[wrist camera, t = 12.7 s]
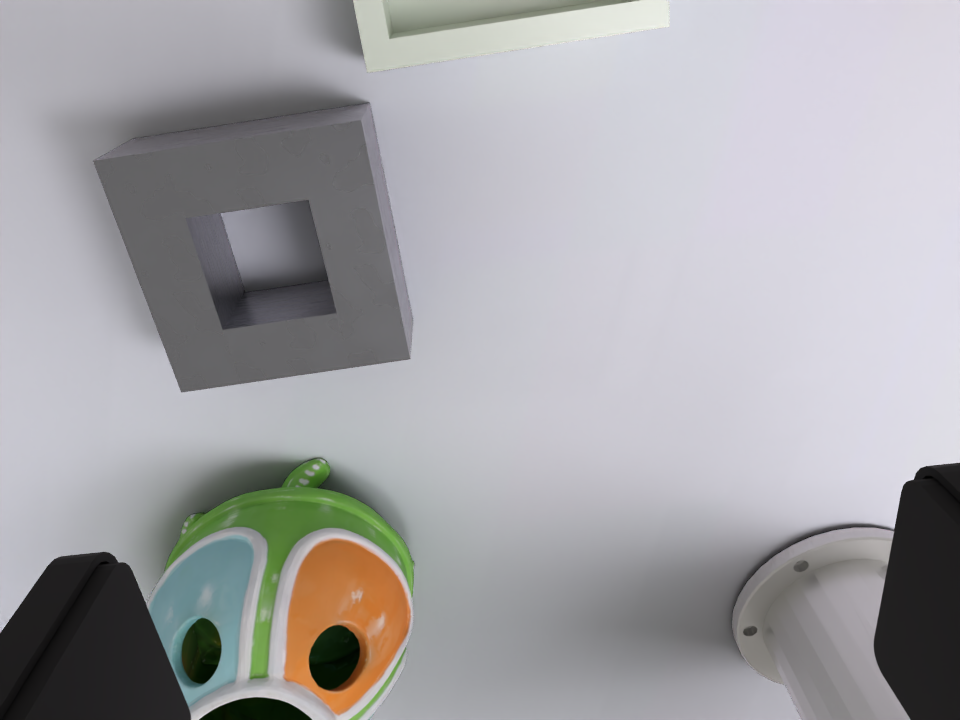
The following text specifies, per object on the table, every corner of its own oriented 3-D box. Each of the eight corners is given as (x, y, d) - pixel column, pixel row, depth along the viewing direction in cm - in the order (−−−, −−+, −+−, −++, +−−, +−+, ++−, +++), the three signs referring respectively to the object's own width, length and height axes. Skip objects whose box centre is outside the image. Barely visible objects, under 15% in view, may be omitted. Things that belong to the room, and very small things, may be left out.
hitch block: (369, 102, 31) (360, 120, 27) (413, 319, 35) (410, 359, 32) (132, 138, 31) (92, 160, 27) (207, 350, 35) (181, 392, 32)
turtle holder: (78, 588, 42) (-42, 794, 32) (308, 413, 37) (258, 587, 27) (241, 696, 47) (184, 907, 36) (462, 554, 42) (470, 748, 32)
